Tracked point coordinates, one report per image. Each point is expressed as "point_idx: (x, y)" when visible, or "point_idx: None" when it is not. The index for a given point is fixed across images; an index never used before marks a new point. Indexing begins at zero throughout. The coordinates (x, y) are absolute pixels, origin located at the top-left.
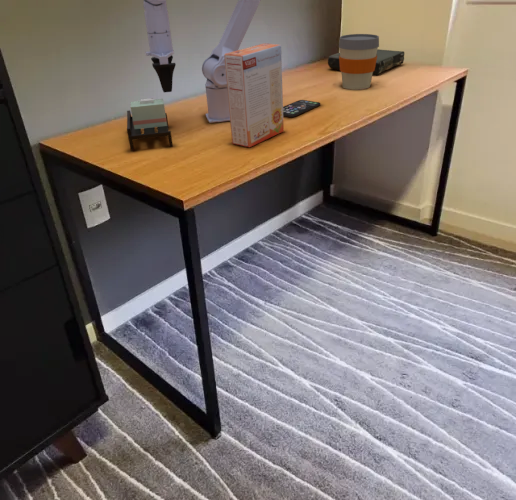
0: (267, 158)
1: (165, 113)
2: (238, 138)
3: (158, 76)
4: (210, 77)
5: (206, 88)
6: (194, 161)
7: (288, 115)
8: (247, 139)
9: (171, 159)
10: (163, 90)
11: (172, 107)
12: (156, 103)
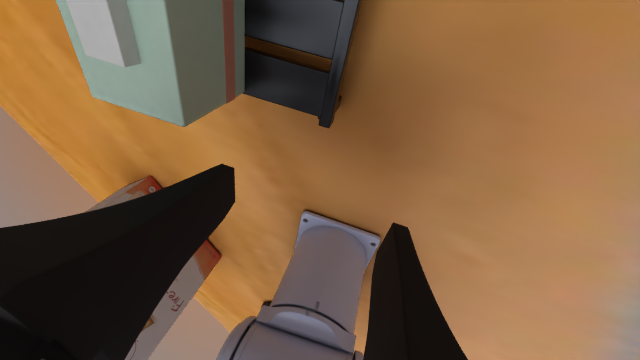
0: (83, 181)
1: (322, 122)
2: (127, 187)
3: (108, 207)
4: (250, 343)
5: (305, 303)
6: (50, 62)
7: (265, 304)
8: (112, 194)
9: (52, 8)
10: (211, 169)
11: (592, 218)
12: (96, 64)
